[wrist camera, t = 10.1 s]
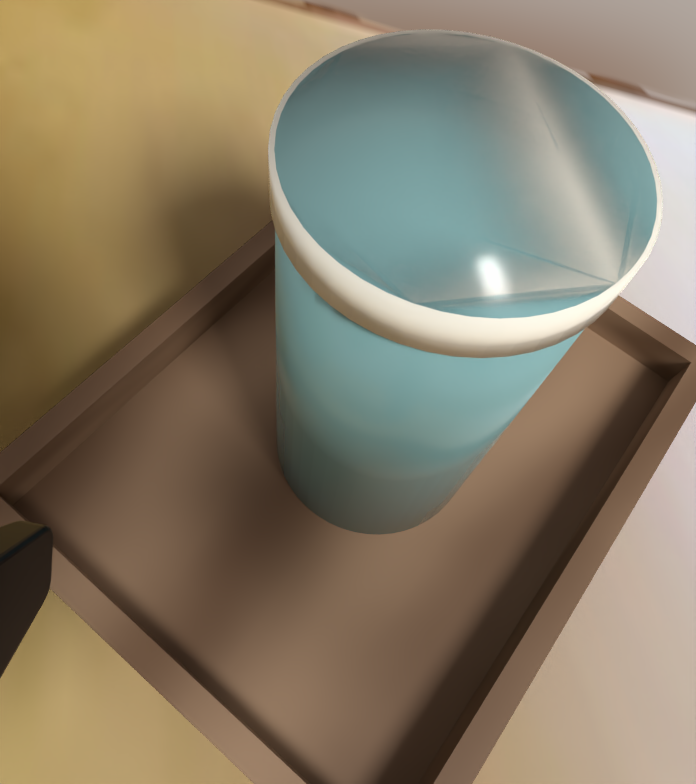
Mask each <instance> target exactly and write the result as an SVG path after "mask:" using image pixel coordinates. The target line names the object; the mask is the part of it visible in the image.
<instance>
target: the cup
mask: <svg viewBox="0 0 696 784" xmlns="http://www.w3.org/2000/svg"><path fill="white" fill-rule="evenodd" d="M268 164H269V199H270V211H271V215H272V219H273V223H274V227H275V313H276V442H277V453H278V458H279V463H280V466H281V469H282V471H283V474H284V477H285V478H286V480H287V482H288V484H289V486H290V488H291V489H292V490H293V492H294V493H295V494H296V496H297V497H298V498H299V499H300V500H301V502H302V503H303V504H304V505H305V506H306V507H307V508H309V509H310V510H311V511H312V512H313V513H315V514H316V515H317V516H319V517H321V518H322V519H324V520H325V521H327V522H329V523H331V524H333V525H335V526H338V527H340V528H343V529H346V530H349V531H353V532H358V533H364V534H379V535H380V534H391V533H397V532H401V531H405V530H408V529H411V528H413V527H416V526H418V525H420V524H422V523H424V522H426V521H428V520H429V519H431V518H432V517H433V516H435V515H436V514H437V513H439V512H440V511H441V510H442V509H443V508H444V507H445V506H446V505H447V504H448V502H449V501H450V500H451V499H452V497H453V496H454V495H455V493H456V492H457V491H458V490H459V488H460V487H461V486H462V485H463V483H464V482H465V481H466V479H467V478H468V477H469V476H470V474H471V473H472V472H473V471H474V469H475V468H476V467H477V465H478V464H479V463H480V462H481V460H482V459H483V458H484V456H485V455H486V454H487V453H488V451H489V450H490V449H491V448H492V446H493V445H494V444H495V442H496V441H497V440H498V439H499V437H500V436H501V435H502V434H503V432H504V431H505V430H506V428H507V427H508V426H509V425H510V423H511V422H512V421H513V420H514V418H515V417H516V416H517V414H518V413H519V412H520V411H521V409H522V408H523V407H524V405H525V404H526V403H527V402H528V400H529V399H530V398H531V397H532V395H533V394H534V393H535V391H536V390H537V389H538V388H539V386H540V385H541V384H542V383H543V381H544V380H545V379H546V377H547V376H548V375H549V374H550V372H551V371H552V370H553V369H554V367H555V366H556V365H557V363H558V362H559V361H560V360H561V358H562V357H563V356H564V355H565V353H566V352H567V351H568V349H569V348H570V347H571V346H572V344H573V343H574V342H575V340H576V339H577V338H578V337H579V335H580V334H581V333H582V332H583V330H584V329H585V328H586V327H588V326H589V325H591V324H592V323H594V322H595V321H596V320H597V319H598V318H599V317H600V316H601V315H602V314H603V313H604V312H605V311H606V310H607V309H608V308H609V307H610V306H611V304H612V303H613V302H614V301H615V299H616V298H617V297H618V296H619V294H620V293H621V292H622V291H623V289H624V288H625V287H626V286H627V284H628V283H629V282H630V281H631V279H632V278H633V277H634V276H635V274H636V273H637V272H638V271H639V269H640V268H641V266H642V265H643V264H644V262H645V261H646V259H647V258H648V257H649V255H650V253H651V251H652V249H653V246H654V244H655V242H656V240H657V237H658V233H659V229H660V225H661V221H662V210H663V197H662V188H661V181H660V178H659V174H658V171H657V167H656V164H655V161H654V159H653V157H652V155H651V152H650V150H649V148H648V146H647V144H646V143H645V141H644V139H643V138H642V136H641V134H640V133H639V131H638V130H637V128H636V127H635V126H634V124H633V123H632V122H631V121H630V119H629V118H628V117H627V116H626V114H625V113H624V112H623V111H622V110H621V109H620V108H619V107H618V106H617V105H616V104H615V103H614V102H613V101H612V100H611V99H610V98H609V97H608V96H607V95H606V94H605V93H603V92H602V91H601V90H600V89H599V88H597V87H596V86H595V85H594V84H592V83H591V82H590V81H588V80H587V79H585V78H584V77H582V76H581V75H579V74H578V73H576V72H575V71H573V70H572V69H570V68H568V67H566V66H565V65H563V64H561V63H559V62H557V61H555V60H554V59H552V58H549V57H547V56H545V55H543V54H541V53H538V52H536V51H534V50H531V49H528V48H526V47H523V46H520V45H518V44H515V43H512V42H508V41H505V40H501V39H497V38H494V37H490V36H484V35H479V34H474V33H469V32H460V31H451V30H408V31H398V32H392V33H386V34H380V35H376V36H372V37H369V38H365V39H361V40H358V41H356V42H353V43H351V44H348V45H345V46H343V47H340V48H339V49H337V50H335V51H333V52H331V53H329V54H327V55H326V56H324V57H322V58H321V59H319V60H318V61H317V62H315V63H314V64H313V65H311V66H310V67H308V68H307V69H306V70H305V71H304V72H303V73H302V74H301V75H300V76H299V77H298V78H297V79H296V80H295V81H294V82H293V84H292V85H291V86H290V88H289V89H288V90H287V92H286V93H285V94H284V96H283V98H282V100H281V102H280V104H279V106H278V108H277V110H276V112H275V115H274V118H273V122H272V125H271V128H270V136H269V146H268Z"/></svg>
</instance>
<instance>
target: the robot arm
mask: <svg viewBox="0 0 696 784" xmlns="http://www.w3.org/2000/svg"><path fill="white" fill-rule="evenodd" d="M52 555H53V532H52V530H51V528H50V527H49V526H47V525H42V524H37V523H32V522H27V521H16V522H13V523H10V524H7V525H4V526H1V527H0V678H1V676H2V675H3V673H4V671H5V669H6V667H7V666H8V664H9V662H10V660H11V659H12V657H13V655H14V653H15V652H16V650H17V648H18V646H19V645H20V643H21V641H22V639H23V637H24V636H25V634H26V632H27V630H28V629H29V627H30V625H31V623H32V622H33V620H34V618H35V616H36V615H37V613H38V611H39V609H40V607H41V606H42V604H43V602H44V600H45V598H46V596H47V594H48V591H49V588H50V584H51V574H52Z"/></svg>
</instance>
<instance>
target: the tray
mask: <svg viewBox="0 0 696 784" xmlns="http://www.w3.org/2000/svg"><path fill="white" fill-rule="evenodd" d="M695 402H696V345H695V344H693V343H692V342H690V341H689V340H687V339H686V338H684V337H682V336H681V335H679V334H678V333H676V332H675V331H673V330H672V329H670V328H668V327H667V326H665V325H664V324H662V323H661V322H659V321H658V320H656V319H654V318H653V317H651V316H650V315H648V314H647V313H645V312H644V311H642V310H640V309H639V308H637V307H636V306H634V305H633V304H631V303H630V302H628V301H626V300H625V299H623V298H622V297H620V296H618V297H617V298H616V299H615V301H614V302H613V303H612V304H611V306H610V307H609V308H608V309H607V310H606V311H605V312H604V313H603V314H602V315H601V316H600V317H599V318H598V319H597V320H596V321H595V322H594V323H592V324H591V325H589V326H588V327H586V328H585V329H584V330H583V332H582V333H581V334H580V335H579V337H578V338H577V339H576V340H575V342H574V343H573V344H572V346H571V347H570V348H569V349H568V351H567V352H566V353H565V355H564V356H563V357H562V358H561V360H560V361H559V362H558V363H557V365H556V366H555V367H554V369H553V370H552V371H551V372H550V374H549V375H548V376H547V377H546V379H545V380H544V381H543V383H542V384H541V385H540V386H539V388H538V389H537V390H536V391H535V393H534V394H533V395H532V397H531V398H530V399H529V400H528V402H527V403H526V404H525V405H524V407H523V408H522V409H521V411H520V412H519V413H518V414H517V416H516V417H515V418H514V420H513V421H512V422H511V423H510V425H509V426H508V427H507V428H506V430H505V431H504V432H503V434H502V435H501V436H500V437H499V439H498V440H497V441H496V442H495V444H494V445H493V446H492V448H491V449H490V450H489V451H488V453H487V454H486V455H485V456H484V458H483V459H482V460H481V462H480V463H479V464H478V465H477V467H476V468H475V469H474V471H473V472H472V473H471V474H470V476H469V477H468V478H467V479H466V481H465V482H464V483H463V485H462V486H461V487H460V488H459V490H458V491H457V492H456V493H455V495H454V496H453V497H452V499H451V500H450V501H449V502H448V504H447V505H446V506H445V507H444V508H443V509H442V510H441V511H440V512H439V513H437V514H436V515H435V516H433V517H432V518H431V519H429V520H428V521H426V522H424V523H422V524H420V525H418V526H416V527H413V528H411V529H408V530H405V531H401V532H397V533H391V534H380V535H379V534H364V533H358V532H353V531H349V530H346V529H343V528H340V527H338V526H335V525H333V524H331V523H329V522H327V521H325V520H324V519H322V518H321V517H319V516H317V515H316V514H315V513H313V512H312V511H311V510H310V509H309V508H307V507H306V506H305V505H304V504H303V503H302V502H301V500H300V499H299V498H298V497H297V496H296V494H295V493H294V492H293V490H292V489H291V488H290V486H289V484H288V482H287V480H286V478H285V477H284V474H283V471H282V469H281V466H280V463H279V458H278V453H277V442H276V313H275V227H274V223H273V220H272V221H271V222H270V223H269V224H267V225H266V226H265V227H264V228H263V229H262V230H260V231H259V232H258V233H257V234H256V235H255V236H253V237H252V238H251V239H250V240H249V241H248V242H246V243H245V244H244V245H243V246H242V247H241V248H239V249H238V250H237V251H236V252H235V253H233V254H232V255H231V256H230V257H229V258H228V259H226V260H225V261H224V262H223V263H222V264H221V265H219V266H218V267H217V268H216V269H215V270H214V271H212V272H211V273H210V274H209V275H208V276H207V277H205V278H204V279H203V280H202V281H201V282H199V283H198V284H197V285H196V286H195V287H194V288H192V289H191V290H190V291H189V292H188V293H187V294H185V295H184V296H183V297H182V298H181V299H180V300H178V301H177V302H176V303H175V304H174V305H173V306H171V307H170V308H169V309H168V310H167V311H165V312H164V313H163V314H162V315H161V316H160V317H158V318H157V319H156V320H155V321H154V322H153V323H151V324H150V325H149V326H148V327H147V328H146V329H144V330H143V331H142V332H141V333H140V334H139V335H137V336H136V337H135V338H134V339H133V340H131V341H130V342H129V343H128V344H127V345H126V346H124V347H123V348H122V349H121V350H120V351H119V352H117V353H116V354H115V355H114V356H113V357H112V358H110V359H109V360H108V361H107V362H106V363H105V364H103V365H102V366H101V367H100V368H99V369H97V370H96V371H95V372H94V373H93V374H92V375H90V376H89V377H88V378H87V379H86V380H85V381H83V382H82V383H81V384H80V385H79V386H78V387H76V388H75V389H74V390H73V391H72V392H71V393H69V394H68V395H67V396H66V397H65V398H63V399H62V400H61V401H60V402H59V403H58V404H56V405H55V406H54V407H53V408H52V409H51V410H49V411H48V412H47V413H46V414H45V415H44V416H42V417H41V418H40V419H39V420H38V421H37V422H35V423H34V424H33V425H32V426H31V427H29V428H28V429H27V430H26V431H25V432H24V433H22V434H21V435H20V436H19V437H18V438H17V439H15V440H14V441H13V442H12V443H11V444H10V445H8V446H7V447H6V448H5V449H4V450H3V451H1V452H0V527H1V526H4V525H7V524H10V523H13V522H16V521H27V522H32V523H37V524H42V525H47V526H49V527H50V528H51V530H52V532H53V555H52V574H51V584H50V589H51V590H52V591H53V592H54V593H55V594H56V595H57V596H58V597H60V598H61V599H62V600H63V601H64V602H65V603H66V604H67V605H68V606H69V607H70V608H71V609H72V610H73V611H74V612H75V613H76V614H77V615H78V616H79V617H80V618H81V619H83V620H84V621H85V622H86V623H87V624H88V625H89V626H90V627H91V628H92V629H93V630H94V631H95V632H96V633H97V634H98V635H99V636H100V637H101V638H102V639H103V640H105V641H106V642H107V643H108V644H109V645H110V646H111V647H112V648H113V649H114V650H115V651H116V652H117V653H118V654H119V655H120V656H121V657H122V658H123V659H124V660H125V661H126V662H128V663H129V664H130V665H131V666H132V667H133V668H134V669H135V670H136V671H137V672H138V673H139V674H140V675H141V676H142V677H143V678H144V679H145V680H146V681H147V682H148V683H149V684H151V685H152V686H153V687H154V688H155V689H156V690H157V691H158V692H159V693H160V694H161V695H162V696H163V697H164V698H165V699H166V700H167V701H168V702H169V703H170V704H171V705H172V706H174V707H175V708H176V709H177V710H178V711H179V712H180V713H181V714H182V715H183V716H184V717H185V718H186V719H187V720H188V721H189V722H190V723H191V724H192V725H193V726H194V727H195V728H197V729H198V730H199V731H200V732H201V733H202V734H203V735H204V736H205V737H206V738H207V739H208V740H209V741H210V742H211V743H212V744H213V745H214V746H215V747H216V748H217V749H218V750H220V751H221V752H222V753H223V754H224V755H225V756H226V757H227V758H228V759H229V760H230V761H231V762H232V763H233V764H234V765H235V766H236V767H237V768H238V769H239V770H240V771H242V772H243V773H244V774H245V775H246V776H247V777H248V778H249V779H250V780H251V781H252V782H253V783H254V784H472V783H473V781H474V780H475V778H476V776H477V775H478V773H479V771H480V769H481V768H482V766H483V764H484V763H485V761H486V759H487V757H488V756H489V754H490V752H491V751H492V749H493V747H494V745H495V744H496V742H497V740H498V739H499V737H500V735H501V734H502V732H503V730H504V728H505V727H506V725H507V723H508V722H509V720H510V718H511V716H512V715H513V713H514V711H515V710H516V708H517V706H518V705H519V703H520V701H521V699H522V698H523V696H524V694H525V693H526V691H527V689H528V687H529V686H530V684H531V682H532V681H533V679H534V677H535V676H536V674H537V672H538V670H539V669H540V667H541V665H542V664H543V662H544V660H545V658H546V657H547V655H548V653H549V652H550V650H551V648H552V646H553V645H554V643H555V641H556V640H557V638H558V636H559V635H560V633H561V631H562V629H563V628H564V626H565V624H566V623H567V621H568V619H569V617H570V616H571V614H572V612H573V611H574V609H575V607H576V606H577V604H578V602H579V600H580V599H581V597H582V595H583V594H584V592H585V590H586V588H587V587H588V585H589V583H590V582H591V580H592V578H593V577H594V575H595V573H596V571H597V570H598V568H599V566H600V565H601V563H602V561H603V559H604V558H605V556H606V554H607V553H608V551H609V549H610V547H611V546H612V544H613V542H614V541H615V539H616V537H617V536H618V534H619V532H620V530H621V529H622V527H623V525H624V524H625V522H626V520H627V518H628V517H629V515H630V513H631V512H632V510H633V508H634V507H635V505H636V503H637V501H638V500H639V498H640V496H641V495H642V493H643V491H644V489H645V488H646V486H647V484H648V483H649V481H650V479H651V478H652V476H653V474H654V472H655V471H656V469H657V467H658V466H659V464H660V462H661V460H662V459H663V457H664V455H665V454H666V452H667V450H668V448H669V447H670V445H671V443H672V442H673V440H674V438H675V437H676V435H677V433H678V431H679V430H680V428H681V426H682V425H683V423H684V421H685V419H686V418H687V416H688V414H689V413H690V411H691V409H692V408H693V406H694V404H695Z"/></svg>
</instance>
